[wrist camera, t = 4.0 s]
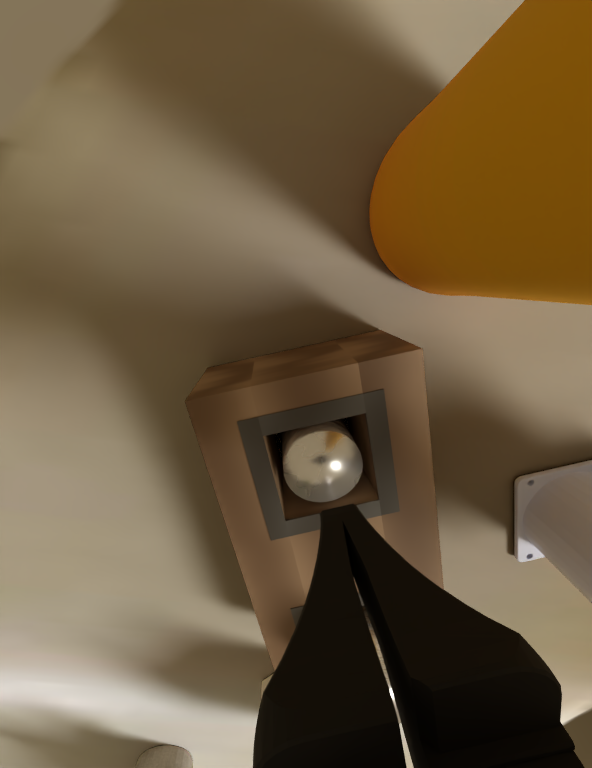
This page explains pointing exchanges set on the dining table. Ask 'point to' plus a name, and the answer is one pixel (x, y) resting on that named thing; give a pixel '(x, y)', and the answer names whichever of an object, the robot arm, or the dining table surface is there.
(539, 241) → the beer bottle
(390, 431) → the walnut block
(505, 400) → the dining table surface
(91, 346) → the dining table surface
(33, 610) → the dining table surface
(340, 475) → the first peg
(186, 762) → the house plant
